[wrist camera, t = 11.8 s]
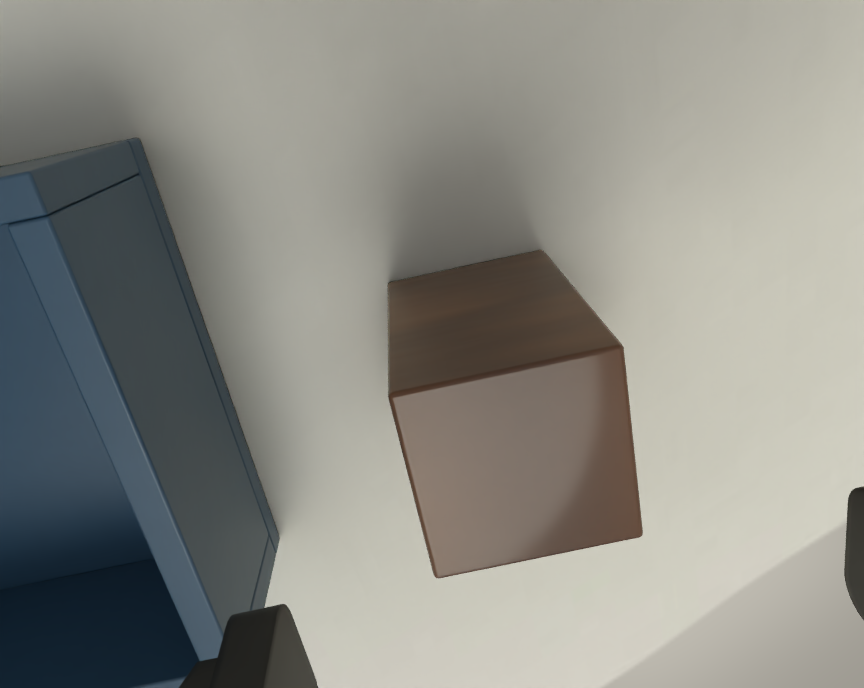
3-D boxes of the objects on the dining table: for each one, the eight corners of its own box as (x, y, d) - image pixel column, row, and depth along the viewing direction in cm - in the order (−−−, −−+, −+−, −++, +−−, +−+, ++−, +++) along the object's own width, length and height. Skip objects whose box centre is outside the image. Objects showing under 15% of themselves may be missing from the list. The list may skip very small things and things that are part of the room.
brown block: (543, 248, 19) (624, 344, 12) (563, 388, 21) (644, 537, 14) (386, 282, 19) (386, 395, 13) (419, 419, 21) (434, 581, 14)
